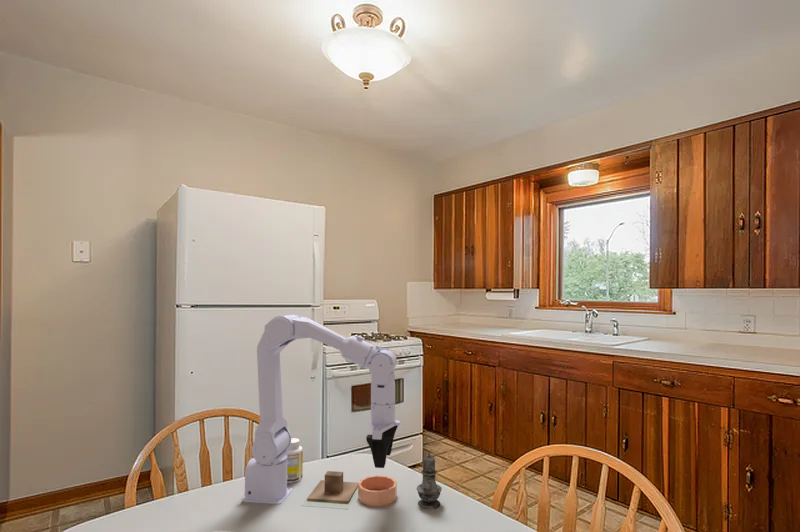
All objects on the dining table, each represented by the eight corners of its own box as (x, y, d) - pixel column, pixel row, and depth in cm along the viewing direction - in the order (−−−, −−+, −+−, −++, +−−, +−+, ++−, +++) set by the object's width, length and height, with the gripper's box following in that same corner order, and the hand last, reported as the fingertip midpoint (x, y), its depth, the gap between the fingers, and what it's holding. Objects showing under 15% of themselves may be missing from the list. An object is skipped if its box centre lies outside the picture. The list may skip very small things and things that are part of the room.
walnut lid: (307, 500, 107) (307, 480, 107) (320, 482, 117) (320, 464, 117) (348, 503, 106) (348, 483, 106) (358, 485, 115) (358, 466, 116)
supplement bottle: (292, 473, 124) (292, 435, 124) (306, 478, 120) (307, 439, 121) (276, 481, 119) (276, 441, 119) (290, 486, 116) (291, 445, 116)
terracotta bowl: (354, 505, 105) (354, 490, 105) (363, 488, 114) (363, 474, 114) (392, 508, 104) (392, 493, 104) (399, 491, 113) (398, 476, 113)
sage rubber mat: (301, 507, 105) (301, 505, 105) (320, 481, 118) (320, 480, 119) (347, 510, 103) (347, 509, 103) (362, 484, 117) (362, 482, 117)
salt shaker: (440, 511, 103) (439, 457, 103) (414, 508, 104) (414, 455, 104) (443, 499, 108) (442, 448, 109) (418, 497, 110) (418, 446, 110)
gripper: (394, 411, 99) (394, 474, 99) (404, 395, 114) (404, 450, 113) (363, 409, 100) (363, 472, 100) (376, 394, 115) (376, 449, 114)
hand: (382, 460), depth 106 cm, fingers open, 7 cm apart
